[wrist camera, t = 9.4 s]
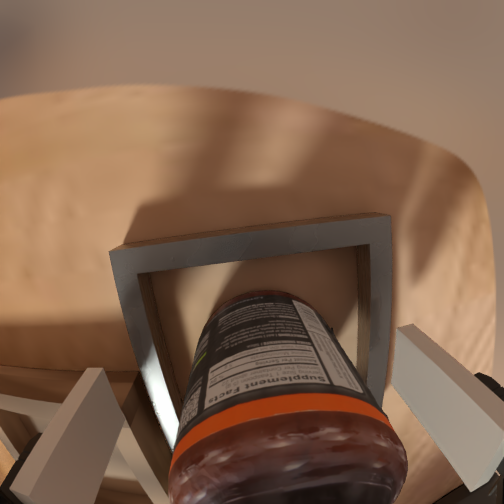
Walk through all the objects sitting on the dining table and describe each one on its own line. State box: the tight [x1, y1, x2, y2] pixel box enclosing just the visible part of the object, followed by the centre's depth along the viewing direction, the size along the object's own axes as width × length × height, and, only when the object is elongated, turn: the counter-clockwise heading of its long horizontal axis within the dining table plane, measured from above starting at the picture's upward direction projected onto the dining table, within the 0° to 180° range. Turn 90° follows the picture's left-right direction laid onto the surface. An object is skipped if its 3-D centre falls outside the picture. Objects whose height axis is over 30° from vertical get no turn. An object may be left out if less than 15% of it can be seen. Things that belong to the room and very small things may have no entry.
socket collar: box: [109, 212, 392, 453], centre depth 13 cm, size 11×11×2 cm
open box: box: [0, 365, 173, 504], centre depth 13 cm, size 11×11×3 cm
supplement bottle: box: [168, 291, 408, 504], centre depth 8 cm, size 6×6×11 cm
